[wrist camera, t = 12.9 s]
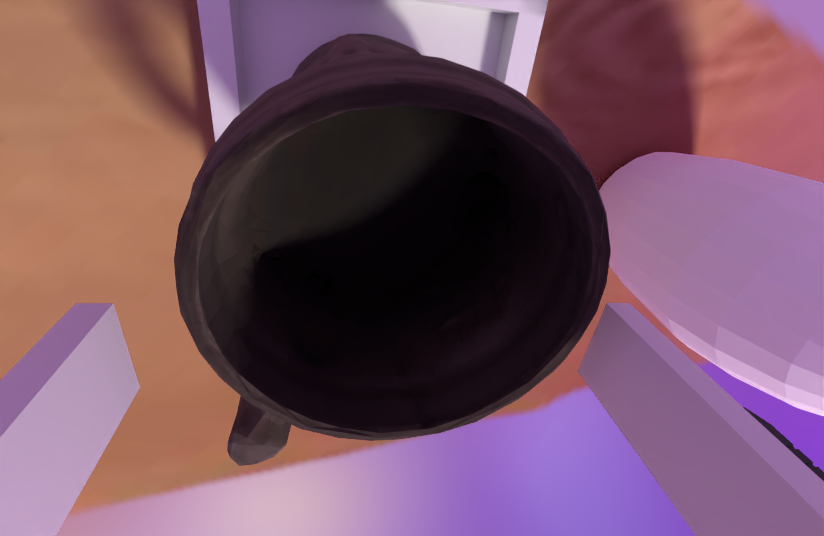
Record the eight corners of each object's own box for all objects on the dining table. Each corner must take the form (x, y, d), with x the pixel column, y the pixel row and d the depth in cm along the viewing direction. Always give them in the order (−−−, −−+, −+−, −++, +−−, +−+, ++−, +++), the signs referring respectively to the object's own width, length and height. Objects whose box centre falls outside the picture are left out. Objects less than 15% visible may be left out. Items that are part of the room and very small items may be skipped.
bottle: (722, 125, 30) (1768, 369, 8) (685, 254, 35) (1230, 602, 14) (580, 147, 29) (1293, 483, 7) (566, 275, 35) (937, 677, 13)
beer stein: (323, -22, 21) (185, -119, 5) (487, 78, 25) (740, 227, 8) (245, 214, 28) (77, 516, 11) (381, 265, 32) (403, 551, 15)
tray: (246, 292, 31) (237, 314, 29) (205, -65, 20) (186, -79, 18) (465, 296, 34) (474, 315, 32) (531, -12, 23) (552, -17, 21)
